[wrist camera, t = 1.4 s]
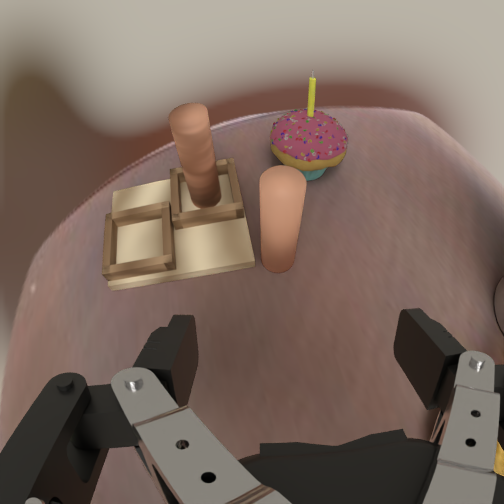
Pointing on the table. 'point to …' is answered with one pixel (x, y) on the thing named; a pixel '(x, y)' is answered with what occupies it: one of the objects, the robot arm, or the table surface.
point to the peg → (280, 216)
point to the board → (179, 216)
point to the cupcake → (309, 139)
